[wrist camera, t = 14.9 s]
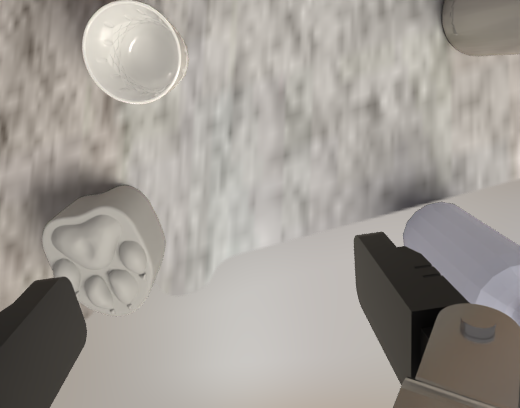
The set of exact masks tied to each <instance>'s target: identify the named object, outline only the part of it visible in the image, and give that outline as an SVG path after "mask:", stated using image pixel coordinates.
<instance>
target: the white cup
mask: <svg viewBox="0 0 520 408" xmlns="http://www.w3.org/2000/svg"><path fill="white" fill-rule="evenodd" d="M82 53H83V58H84V62H85V65H86V68H87V70H88V72H89V74H90V76H91V78H92V79H93V81H94V82H95V83H96V84H97V85H98V87H99V88H100V89H101V90H103V91H104V92H105V93H106V94H108V95H109V96H111V97H112V98H114V99H116V100H119V101H121V102H125V103H129V104H145V103H149V102H152V101H155V100H157V99H159V98H161V97H162V96H164V95H165V94H167V93H168V92H170V91H171V90H173V89H174V88H175V87H176V86H177V85H178V84H179V83H180V82H181V80H182V79H183V78H184V77H185V75H186V71H187V68H188V64H189V57H188V51H187V46H186V44H185V43H184V41H183V39H182V37H181V35H180V34H179V33H178V31H177V30H176V29H175V28H174V26H173V25H172V24H171V23H170V22H169V21H168V20H167V19H166V18H165V17H164V16H163V15H162V14H161V13H159V12H158V11H157V10H155V9H154V8H152V7H151V6H149V5H147V4H144V3H142V2H138V1H133V0H119V1H114V2H111V3H108V4H106V5H104V6H103V7H101V8H100V9H99V10H97V11H96V12H95V13H94V14H93V16H92V17H91V18H90V20H89V21H88V23H87V25H86V28H85V30H84V34H83V40H82Z"/></svg>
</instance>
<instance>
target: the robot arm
mask: <svg viewBox="0 0 520 408" xmlns="http://www.w3.org/2000/svg"><path fill="white" fill-rule="evenodd" d="M442 21H443V28H444V31H445V35H446V37H447V38H448V40H449V42H450V43H451V44H452V45H453V46H454V48H455V49H457V50H458V51H460V52H462V53H464V54H467V55H470V56H492V55H514V54H520V0H445V2H444V5H443V13H442ZM354 256H355V276H356V288H357V294H358V299H359V302H360V305H361V307H362V309H363V311H364V313H365V315H366V317H367V319H368V321H369V323H370V325H371V327H372V329H373V331H374V333H375V335H376V337H377V338H378V340H379V342H380V344H381V346H382V348H383V350H384V352H385V354H386V356H387V358H388V360H389V362H390V364H391V366H392V368H393V370H394V372H395V374H396V376H397V378H398V380H399V381H400V383H401V385H402V386H401V388H400V391H399V393H398V396H397V399H396V401H395V404H394V406H393V408H520V327H519V325H518V324H517V323H516V322H515V321H514V320H513V319H512V318H511V317H509V316H508V315H506V314H504V313H503V312H501V311H498V310H496V309H494V308H491V307H487V306H483V305H478V304H470V303H469V302H468V301H467V300H466V299H465V298H464V297H463V296H462V295H461V294H460V293H459V292H458V291H457V290H456V289H455V288H454V287H453V286H452V284H451V283H450V282H449V281H448V280H447V279H446V278H445V277H444V276H443V275H442V276H441V275H440V272H439V271H438V270H437V269H436V268H435V267H434V266H433V267H432V264H431V263H430V262H429V261H428V260H427V259H426V258H425V257H424V256H423V255H422V254H421V253H418V252H416V251H414V250H412V249H410V248H408V247H406V246H403V247H396V246H395V245H394V244H393V243H392V241H391V240H390V239H389V238H388V237H387V236H386V235H385V234H384V232H377V233H370V234H362V235H356V236H355V238H354ZM86 335H87V330H86V323H85V320H84V317H83V314H82V311H81V308H80V305H79V303H78V300H77V297H76V294H75V291H74V288H73V285H72V283H71V281H70V280H69V279H68V278H67V277H57V278H50V279H43V280H36V281H34V282H33V283H32V284H31V285H30V286H29V287H28V288H27V289H26V290H25V291H24V293H23V294H22V295H21V296H20V297H19V298H18V299H17V300H16V301H15V302H14V303H13V304H11V305H10V306H8V307H7V308H5V309H4V310H2V311H1V312H0V408H50V406H51V404H52V402H53V401H54V399H55V397H56V395H57V394H58V392H59V390H60V388H61V386H62V385H63V383H64V381H65V379H66V377H67V376H68V374H69V372H70V370H71V368H72V367H73V365H74V363H75V361H76V360H77V358H78V356H79V354H80V352H81V350H82V348H83V347H84V345H85V342H86Z"/></svg>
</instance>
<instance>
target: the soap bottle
mask: <svg viewBox="0 0 520 408" xmlns="http://www.w3.org/2000/svg"><path fill="white" fill-rule="evenodd" d="M403 239H404V246H406V247H408V248H410V249H412V250H414V251H416V252H418V253H421V254H422V255H423V256H424V257H425V258H426V259H427V260H428V261H429V262H430V263H431V264H432V267H433V266H434V267H435V268H436V269H437V270H438V271H439V272H440V275H441V276H442V275H443V276H444V277H445V278H446V279H447V280H448V281H449V282H450V283H451V284H452V286H453V287H454V288H455V289H456V290H457V291H458V292H459V293H460V294H461V295H462V296H463V297H464V298H465V299H466V300H467V301H468V302H469V303H470V304H478V305H483V306H487V307H491V308H494V309H496V310H498V311H501V312H503V313H504V314H506V315H508V316H509V317H511V318H512V319H513V320H514V321H515V322H516V323H517V324H518V325H519V327H520V246H519V245H518V244H516V243H515V242H513V241H511V240H510V239H508V238H507V237H505V236H503V235H502V234H500V233H499V232H497V231H496V230H494V229H492V228H491V227H489V226H488V225H486V224H485V223H483V222H482V221H480V220H478V219H477V218H475V217H474V216H472V215H471V214H469V213H467V212H466V211H464V210H463V209H461V208H460V207H458V206H456V205H455V204H451V203H445V202H438V203H433V204H428V205H426V206H424V207H423V208H421V209H419V210H418V211H416V212H415V213H414V214H413V216H412V217H411V218H410V219H409V220H408V222H407V224H406V227H405V230H404V233H403Z"/></svg>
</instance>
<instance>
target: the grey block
mask: <svg viewBox="0 0 520 408" xmlns="http://www.w3.org/2000/svg"><path fill="white" fill-rule="evenodd" d="M165 245H166V241H165V237H164V233H163V230H162V227H161V224H160V222H159V219H158V217H157V215H156V213H155V211H154V209H153V207H152V205H151V203H150V202H149V200H148V199H147V197H146V196H145V195H144V194H143V193H142V192H141V191H139V190H138V189H136V188H134V187H131V186H127V185H123V186H118V187H115V188H113V189H111V190H109V191H107V192H104V193H101V194H96V195H88V196H83V197H80V198H78V199H77V200H76V201H74V202H73V203H72V204H71V205H69V206H68V207H67V208H66V209H64V210H63V211H62V212H61V213H59V214H58V215H57V216H55V217H54V218H53V219H52V220H51V221H49V222H48V223H47V225H46V226H45V228H44V231H43V234H42V246H43V250H44V252H45V255H46V257H47V259H48V262H49V264H50V266H51V268H52V270H53V275H54V278H57V277H67V278H68V279H69V280H70V281H71V283H72V285H73V288H74V291H75V294H76V297H77V300H78V302H80V303H81V304H83V305H84V306H86V307H87V308H89V309H91V310H93V311H96V312H98V313H101V314H105V315H109V316H115V317H117V316H118V317H121V316H125V315H129V314H131V313H133V312H134V311H136V310H137V309H138V308H139V307H140V306H141V305H142V304H143V303H144V302H145V300H146V299H147V297H148V295H149V293H150V291H151V288H152V286H153V284H154V281H155V279H156V276H157V274H158V271H159V269H160V266H161V264H162V261H163V257H164V252H165Z"/></svg>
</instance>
